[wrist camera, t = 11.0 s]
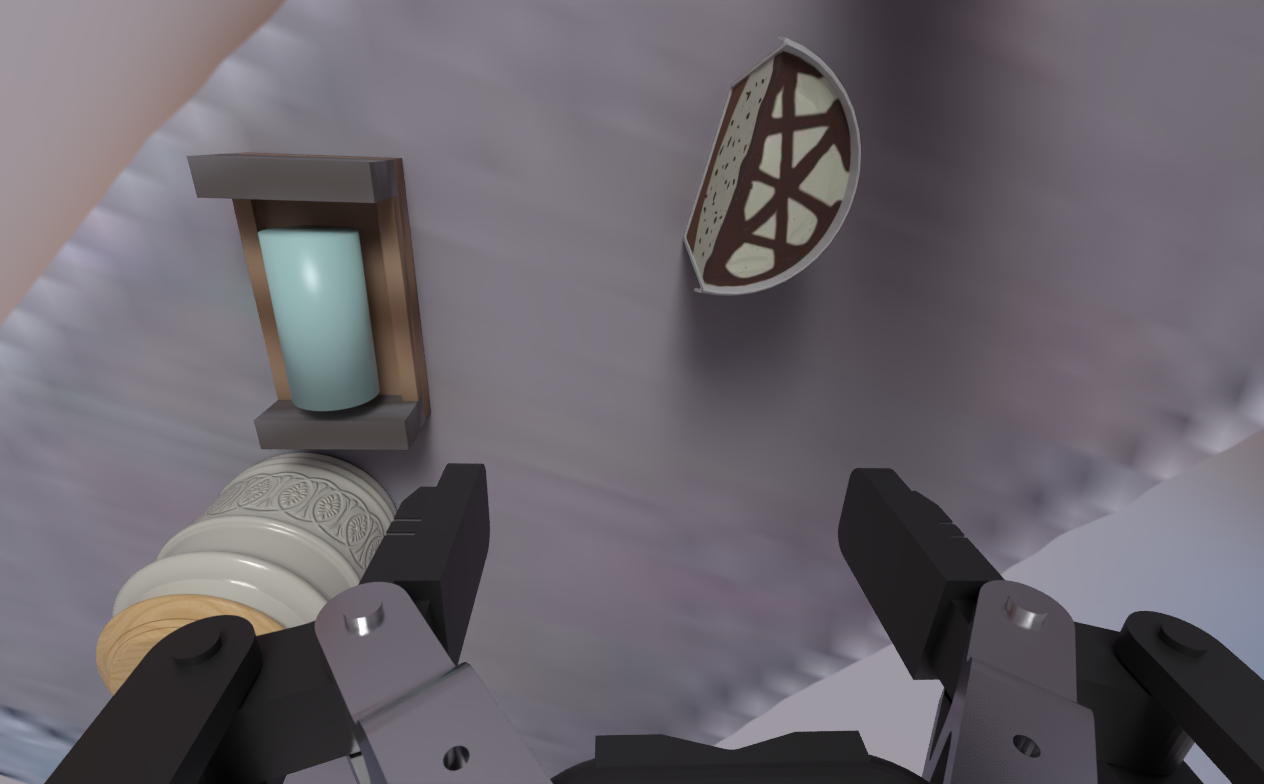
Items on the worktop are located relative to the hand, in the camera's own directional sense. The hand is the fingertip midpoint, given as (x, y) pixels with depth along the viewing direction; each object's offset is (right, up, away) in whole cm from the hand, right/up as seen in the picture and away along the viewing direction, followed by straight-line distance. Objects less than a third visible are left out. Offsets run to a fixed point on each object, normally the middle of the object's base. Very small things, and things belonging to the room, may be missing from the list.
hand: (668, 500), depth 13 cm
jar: (-25, -7, +33) cm, 42 cm away
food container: (+7, +16, +24) cm, 30 cm away
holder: (-20, +9, +25) cm, 33 cm away
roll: (-19, +7, +22) cm, 30 cm away
